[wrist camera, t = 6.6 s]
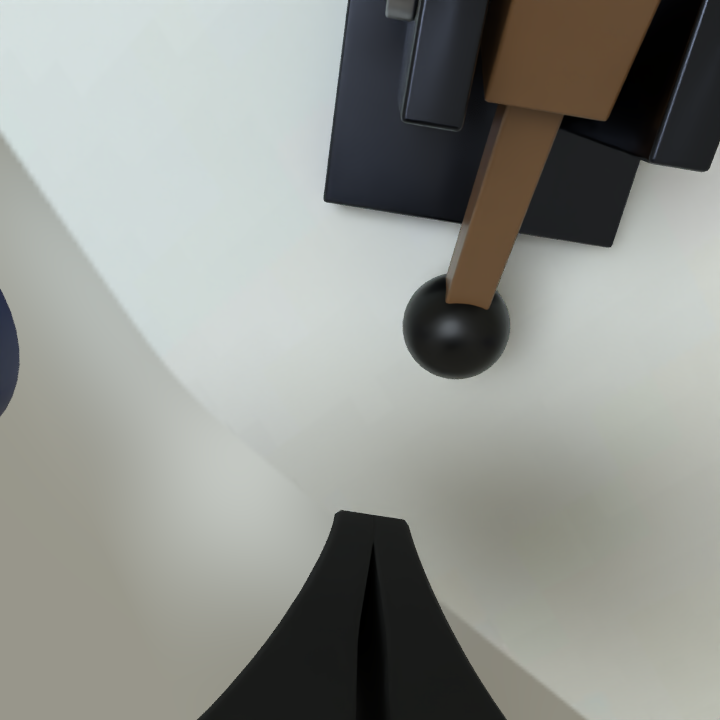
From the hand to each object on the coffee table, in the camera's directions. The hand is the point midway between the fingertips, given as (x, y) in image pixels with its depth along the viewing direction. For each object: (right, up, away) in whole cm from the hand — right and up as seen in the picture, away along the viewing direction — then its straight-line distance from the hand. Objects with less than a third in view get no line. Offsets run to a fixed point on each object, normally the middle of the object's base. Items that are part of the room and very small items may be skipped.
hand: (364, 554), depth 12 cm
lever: (+3, +8, +2) cm, 9 cm away
